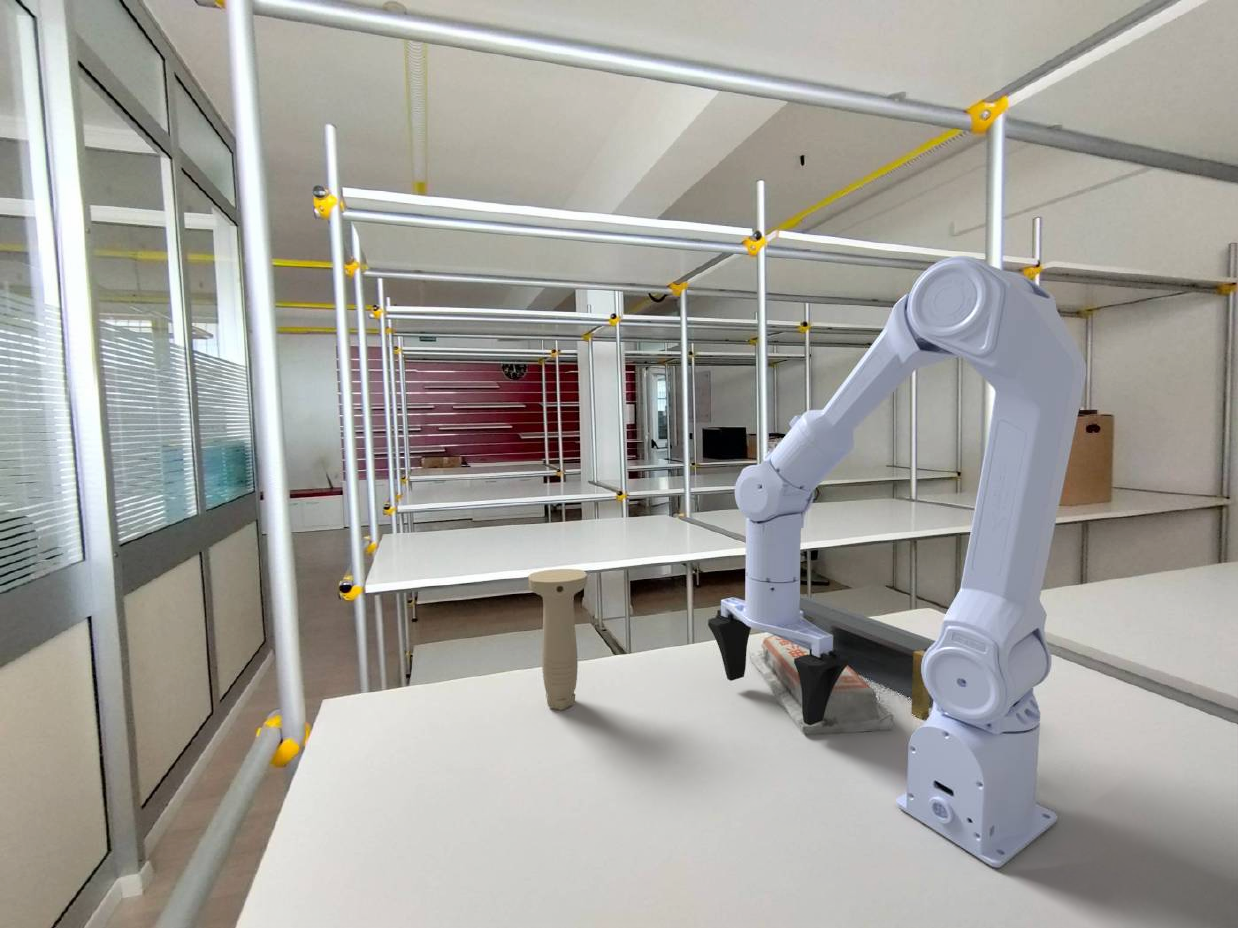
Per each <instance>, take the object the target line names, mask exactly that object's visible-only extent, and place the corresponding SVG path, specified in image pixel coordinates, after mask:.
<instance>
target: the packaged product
mask: <svg viewBox="0 0 1238 928" xmlns="http://www.w3.org/2000/svg"><path fill="white" fill-rule="evenodd" d="M761 648H762V650H757V651H756V652H755V653H754V652H750V651H748V657H749V661H750V662H751V663H752V664H753V666H754V667H756V668H757V670H758V671H759V673H760V674H761V676H762V677H763V679H764V681H765V682H766V684H767V685H768V687H769V688H770V690H771V692H772V693H773V695H774V698H775V700H776V701H777V703H778V704H779V705H781V706H782V707H783V708H785V710H786V711H787V713H788V714H789V715H790V717H791V718H792V720H793V721H794V722H795V724H796V725H797V727H798V728H799V729H800V731H801V732H802V733H803V735H813V734H814V735H815V734H831V733H832V734H835V733H836V734H837V733H853V732H854V733H855V732H867V731H868V732H869V731H870V732H871V731H887V730H893V719H894V718H893V716H894V714H892V713H889V711H888V710H887V708H885V707H884V706H883V705H882V704H881V703H880V702H879V701H878V698H877V694H876V691H875V689H874V688H872V687H871V686H870V685H869V684H868V683H867V682H866V680H864V679H863V677H862V676H860V675H858V674H856V673H855V672H854V671H853V670H852V669H851V668H850V667H849V666H848V665H847V666H846V668H845V669H844V670H843V672H842V673H841V675H840V676H839V678H838V680H837V682H836V683H835V685H834V687H833V690H832V692H831V694H830V697H829V700H828V703H827V706H826V710H825V713H824V717H823V721H820V722H818V723H815V724H813V725H807V724H806V723H804V720H803V714H802V690H801V684H800V679H799V675H798V671H797V669H796V666H795V663H794V658H797V657H800V656H804V655H807V654H808V655H810V650H808V649H805V648H803V647H801V646H798V645H796V644H794V643H791V642H789V641H787V640H784V639H782V638H779V637H777V636H775V635H772V634H771V635H770V636H767V637H765V638H764V639H763V641H762V645H761Z"/></svg>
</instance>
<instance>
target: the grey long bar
mask: <svg viewBox="0 0 1238 928" xmlns="http://www.w3.org/2000/svg"><path fill="white" fill-rule="evenodd" d="M800 611H802V612H803V618H804V619H806V620H807V621H809V622H810V623H812V624H813V625H815V626H816V627H818V628H819V629H821V630H823V631H825V632H827V633H829V634H831V635H833V650H835V651H838V652H840V653H843V654H845V655H847V656H848V657H849V662H848V666H849V667H850V668H851V669H852V670H853V671H854V672H855V673H856V674H857V675H859V676H860V677H862V678H865V679H868V681H869V680H870V681H872V682H874V683H876V684H878V685H880V686H883V687H885V688H888V689H889V690H892V691H894V692H896V693H898V694H901V695H903V696H905V697H907V696H908V697H907V698H909V697H910V699H911V698H912V699H911V711H910V712H911V714H913V715H915V716H914V717H916V716H917V717H916V718H918V719H920V718H921V719H920V720H924V719H926V718H928V717H929V716H930V714H929V713H930V708H931V707H932V708H933V701H934V700H933V698H932V697H931V695H930V694H929V693H928V691H927V689H926V687H925V684H924V681H923V678H922V673H921V664H922V659H923V657H924V654H925V653H926V651H927V649H928V648H929V647H931V646H932V645H933V644H934V643H935V642H936V640H935V639H931V638H928V637H926V636H923V635H920V634H916V633H914V632H911V631H909V630H906V629H902V628H900V627H896V626H893V625H891V624H888V623H885V622H882V621H880V620H876V619H874V618H871V617H868V616H865V615H862V614H859V613H857V612H853V611H850V610H848V609H846V608H841V607H839V606H837V605H833V604H831V603H828V602H825V601H823V600H819V599H816V598H813V597H811V596H807V595H804V594H802V593H800ZM913 715H912V716H913Z"/></svg>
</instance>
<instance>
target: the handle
mask: <svg viewBox="0 0 1238 928" xmlns="http://www.w3.org/2000/svg"><path fill="white" fill-rule="evenodd" d="M587 582H588V579H587V572H586V571H584V570H582V569H573V568H559V569H546V570H541V571H540V570H539V571H537V572H532V573H530V574H529V575H528V588H529V590H530V591H531V592H533V593H535V594H536V595H538V596H540V597H542V603H543V604H542V605H543V610H542V611H543V612H542V613H543V615H542V617H543V618H542V619H543V620H542V621H543V622H542V640H541V641H542V642H541V643H542V647H541V649H542V650H541V666H542V667H541V669H542V670H541V671H542V678H543V685H544V689H545V697H546V702H547V707H549V708H550V709H556V710H559V711H564V710H565V709H566V708H569V707H572V706H574V704H575V702H576V694H575V691H576V687H577V682H578V681H577V680H578V669H579V668H578V667H579V666H578V664H579V663H578V661H579V660H578V647H577V635H576V634H577V633H576V624H575V623H576V622H575V610H574V609H575V608H574V607H575V606H574V603H575V601H574V600H575V599H574V597H575V595H576V594H577V593H579V592H581V591H582V590H583V589H585V588H586V587H587Z"/></svg>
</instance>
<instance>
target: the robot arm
mask: <svg viewBox="0 0 1238 928" xmlns="http://www.w3.org/2000/svg"><path fill="white" fill-rule="evenodd" d="M958 358H961V359H964V360H965V362H966V363H967V364H968V365H970V367H972V369H974V371H976V372H977V373H978V374H979V375H980V376H981V377H982V378H983V379H984V380H985V381H986V382H987V383H988V384H989V385H990V386H991V387H992V388H993V390H994V392H995V394H994V399H993V400H994V401H993V405H992V411H991V418H990V423H989V429H988V433H987V439H986V445H985V448H984V449H985V451H984V456H983V461H982V467H981V472H980V479H979V484H978V488H977V489H978V490H977V494H976V499H975V500H976V501H975V505H974V511H973V517H972V523H971V528H970V535H969V538H968V539H969V540H968V546H967V550H966V556H965V562H964V567H963V571H962V572H963V573H962V578H961V584H960V587H959V590H958V592H957V594H956V596H955V598H954V599H953V601H952V602H951V605H950V606H949V607H948V610H947V612H946V613H945V615H944V617H943V618H942V622H941V628H940V632H939V635H938V638H937V639H936V640H935V641H936V642H935V643H934V644H933V645H932V646H931V647H929V648H928V649H927V651H926V653H925V654H924V657H923V659H922V664H921V673H922V678H923V681H924V684H925V687H926V689H927V691H928V693H929V694H930V695H931V697H932V698H933V700H934V701H933V708H932V709H931V711H930V712H929V713H930V714H929V716H928V717H927V719H926V720H925V721H924V722H923V724H921V725H920V726H919V727H918V728H917V729H916V730H915V731H913V733H912V734H911V736H910V738H909V742H908V751H907V752H908V753H907V754H908V755H907V756H908V757H907V776H906V777H907V779H906V780H907V782H906V792H905V793H904V794H902V795H901V796H899V797H897V798H896V800H895V804H896V806H897V807H898V808H899V809H901V810H903V811H904V812H905V813H907V814H909V815H910V816H911V817H913V818H915V819H916V820H917V821H919V822H921V823H923V824H924V825H925V826H927V827H929V828H931V829H932V830H933V831H935V832H937V833H939V834H940V835H942V836H943V837H945V838H946V839H948V840H950V841H951V842H953V843H954V844H956V845H957V846H959V847H961V848H962V849H963V850H965V851H967V852H968V853H970V854H971V855H973V856H975V857H976V858H978V859H979V860H981V861H982V862H984V863H985V864H988V866H991V867H994V868H1001V867H1002V866H1004V864H1006V863H1007V862H1008V861H1010V860H1011V859H1012V858H1013V857H1015V856H1016V855H1017V854H1018V853H1020V852H1021V851H1022V850H1023V849H1025V848H1026V847H1027V846H1028V845H1030V843H1032V842H1033V841H1034V840H1036V839H1037V838H1038V837H1039V836H1040V835H1042V834H1043V833H1044V832H1045V831H1047V830H1048V829H1049V828H1051V826H1053V825H1054V824H1055V823H1056V822H1058V821H1057V820H1058V816H1057V814H1056V813H1055V812H1053V811H1052V810H1050V809H1048V808H1045V807H1044V806H1042V805H1040V804H1038V803H1036V794H1037V793H1036V792H1037V791H1036V790H1037V775H1038V758H1039V743H1040V729H1041V728H1040V727H1041V711H1040V709H1039V708H1040V707H1039V704H1038V702H1037V699H1036V696H1035V695H1034V688H1035V687H1037V686H1038V685H1040V684H1042V683H1043V682H1044V681H1046V678H1047V677H1048V676H1049V673H1050V672H1051V669H1052V659H1053V658H1052V654H1051V649H1050V647H1049V645H1048V642H1047V639H1046V635H1045V628H1046V627H1045V626H1046V625H1045V624H1046V621H1047V620H1046V619H1047V611H1046V610H1045V608H1044V606H1043V604H1042V602H1041V599H1040V598H1041V594H1042V588H1043V586H1044V585H1043V584H1044V579H1045V574H1046V569H1047V566H1048V560H1049V556H1050V551H1051V546H1052V542H1053V537H1054V536H1053V535H1054V531H1055V527H1056V521H1057V517H1058V512H1059V507H1060V502H1061V497H1062V493H1063V488H1064V483H1065V477H1066V474H1067V469H1068V464H1069V459H1070V454H1071V449H1072V445H1073V440H1074V437H1075V436H1074V435H1075V430H1076V426H1077V421H1078V415H1079V411H1080V407H1081V402H1082V398H1083V392H1084V388H1085V383H1086V378H1087V363H1086V361H1085V359H1084V356H1083V355H1082V352H1081V351H1080V350H1079V348H1078V346H1077V344H1076V343H1075V341H1074V339H1073V337H1072V335H1071V333H1070V331H1069V329H1068V328H1067V326H1066V324H1065V322H1064V320H1063V319H1062V317H1061V315H1060V314H1059V311H1058V309H1057V305H1056V299H1055V296H1054V295H1053V294H1051V292H1049V291H1047V290H1045V289H1044V288H1043V287H1041V286H1040V285H1039V284H1037V283H1036V282H1034V281H1033V280H1032V279H1030V278H1028V277H1027V276H1025V275H1024V274H1021V273H1018V272H1014V271H1006V270H1005V269H1000V268H998V267H995V266H993V265H990V264H989V263H987V262H985V261H983V260H982V259H979V258H977V257H973V256H969V255H966V256H965V255H957V256H951V257H948V258H947V257H946V258H944V259H942V260H939V261H937V262H935V263H934V264H932V265H931V266H930V267H928V268H927V269H926V270H925V271H923V273H922V274H921V275H920V276H919V277H918V279H917V280H916V281H915V283H914V284H913V286H912V288H911V290H910V292H909V293H906V294H904V295H903V296H902V297H901V298H900V299H899V300H898V301H897V302H896V303H895V304H894V305H893V308H892V310H891V312H890V314H889V316H888V319H887V321H886V324H885V326H884V327H883V330H882V331H881V332H880V334H879V335H878V336H877V338H876V339H875V340H874V342H873V343H871V346H870V347H869V349H868V350H867V351H866V352H865V354H864V355H863V356H862V357H861V359H860V360H859V361H858V363H857V364H856V366H854V368H853V369H852V371H851V372H850V374H849V375H848V376H847V377H846V379H845V380H844V381H843V383H842V384H841V386H839V388H838V389H837V390H836V392H835V393H834V394H833V396H832V397H831V399H830V400H829V401H828V402H827V404H826V405H825V406H824V408H822V409H811V410H806V411H805V412H804V413H803V414H801V415H795V416H794V417H793V418H792V419H791V421H790V422H789V424H788V425H789V426H790V427H791V428H790V429H789V431H787V433H786V434H785V436H784V437H783V438H782V439H781V441H780V442H779V443H778V444H777V445H776V446H775V448H773V450H768V451H767V453H766V454H765V455H764V460H762V461H761V463H760V464H754V465H753V464H752V465H748V466H746V467H744V468H742V470H741V472H740V475H739V476H738V478H737V480H736V482H735V486H734V498H735V503H736V506H737V507H738V509H739V511H740V513H741V514H742V515H743V516H744V517H745V584H744V585H745V589H744V590H745V591H744V592H745V593H744V594H745V595H744V597H745V598H744V599H741V598H737V597H729V598H724V599H721V600H720V609H717V610H716V611H717V613H716V615H715V617H712V618H709V619H708V620H707V626H708V628H709V629H710V631H711V633H712V635H713V637H714V638H715V641H716V643H717V646H718V649H719V652H720V655H721V659H722V663H723V668H724V671H725V675H726V678H727V680H729V681H730V682H732V681H735V680H739V679H742V678H744V677H745V673H746V667H747V666H746V665H747V652H748V651H747V649H748V648H747V647H748V644H749V638H750V637H749V636H750V633H751V630H752V629H754V630H757V631H760V632H764V633H768V634H770V635H771V636H772V635H775V636H777V637H779V638H782V639H784V640H787V641H789V642H791V643H794V644H796V645H798V646H801V647H803V648H805V649H808V650H810V655H808V654H807V655H804V656H800V657H797V658H794V663H795V666H796V669H797V671H798V675H799V679H800V684H801V690H802V714H803V720H804V723H806V724H807V725H813V724H815V723H818V722H820V721H823V717H824V713H825V710H826V706H827V703H828V700H829V697H830V694H831V692H832V690H833V687H834V685H835V683H836V682H837V680H838V678H839V676H840V675H841V673H842V672H843V670H844V669H845V668H846V666H847V665H848V662H849V657H848V656H847V655H845V654H843V653H840V652H838V651H835V650H833V635H831V634H829V633H827V632H825V631H823V630H821V629H819V628H818V627H816V626H815V625H813V624H812V623H810V622H809V621H807V620H806V619H804V618H803V612H802V611H800V594H801V544H802V543H801V541H802V540H801V537H802V536H801V535H802V529H803V528H804V524H805V523H804V522H805V521H804V520H805V516H806V513H807V512H808V511H809V510H810V508H811V507H812V505H813V503H814V499H815V489H816V488H817V487H818V486H819V485H820V484H821V483H822V482H823V481H824V480H825V479H826V478H827V477H828V476H829V475H830V474H831V473H832V472H833V471H834V470H835V469H836V467H838V466H839V465H840V464H841V462H842V461H843V460H844V459H845V458H846V457H847V456H848V455H849V454H850V453H851V452H852V451H853V449H854V445H855V444H854V443H855V441H854V430H855V429H856V428H857V427H858V426H859V425H860V424H861V423H863V421H864V420H866V418H868V416H870V415H871V413H873V412H874V411H875V410H876V409H877V408H878V407H879V406H880V405H881V404H882V403H883V402H884V401H885V400H886V399H887V398H888V397H890V395H891V394H892V393H893V392H894V391H895V390H896V389H898V388H899V387H900V385H902V384H903V383H904V382H905V381H906V380H907V379H908V378H909V377H910V376H911V375H912V374H913V373H914V372H915V371H916V370H918V369H921V368H923V367H928V366H930V365H935V364H939V363H943V362H947V361H951V360H954V359H958Z"/></svg>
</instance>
